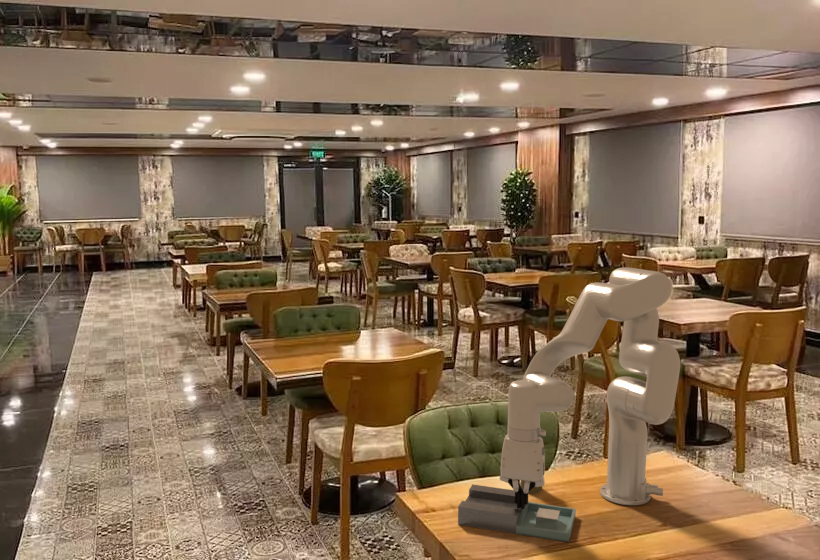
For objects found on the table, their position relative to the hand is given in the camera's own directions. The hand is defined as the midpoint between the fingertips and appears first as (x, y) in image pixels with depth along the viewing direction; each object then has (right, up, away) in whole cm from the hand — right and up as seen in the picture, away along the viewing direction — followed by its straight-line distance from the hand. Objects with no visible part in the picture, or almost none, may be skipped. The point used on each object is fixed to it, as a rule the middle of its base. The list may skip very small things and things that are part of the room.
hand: (521, 506), depth 175 cm
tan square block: (+6, -1, -2) cm, 6 cm away
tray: (+6, -4, -2) cm, 7 cm away
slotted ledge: (-6, -3, +3) cm, 8 cm away
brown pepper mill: (+6, -2, +19) cm, 20 cm away
